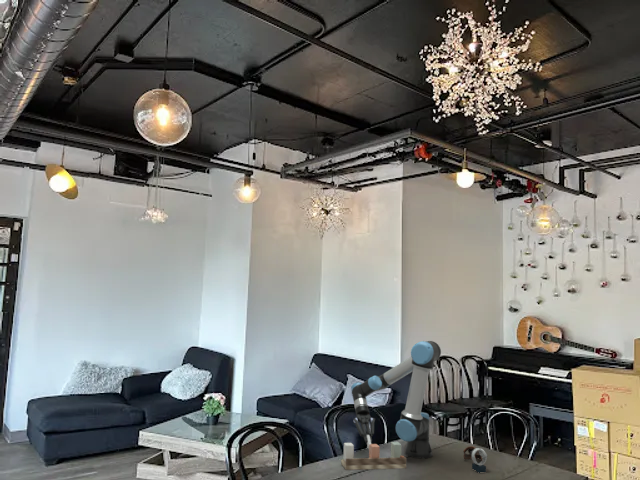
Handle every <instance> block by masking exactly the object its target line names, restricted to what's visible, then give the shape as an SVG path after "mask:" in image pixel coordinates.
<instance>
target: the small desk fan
mask: <svg viewBox="0 0 640 480" xmlns="http://www.w3.org/2000/svg"><path fill="white" fill-rule="evenodd" d="M478 450H479V451H478ZM477 451H478V452H479V454H480V455H481V457H482V461H481V460H480V462H477V459H476V458H475V453H476V452H477ZM471 457H472V459H471V460H472V462H473V463H472V464H471V470H472V469H474V470H476V471H477V472H476V471H475V472H476V473H478V472H479V473H478V474H481V473H480V472H486V473H487V466H486V465H484V464H486V462H487V458H488V454H487V452H486V451H485V450H484V449H483V448H479V447H475V449H474V450H473V452H472V456H471ZM474 470H473V471H474Z"/></svg>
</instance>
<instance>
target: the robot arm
mask: <svg viewBox="0 0 640 480" xmlns="http://www.w3.org/2000/svg"><path fill="white" fill-rule="evenodd" d="M441 354H442V351H441V347H440V344H438V343H437V342H436V341H433V340H428V341H427V340H426V341H425V340H423V341H418V342H417V343H415V344H414V345H413V346H412V347H411V350H410V357H408V358H406V359H405V360H403V361H402V362H400V363H398V364H397V365H395V366H394V367H392V368H391V369H389V370H387V371H385V372H384V373H383V374H381V375H379V376H378V375H373V376H371V377H369V378H368V379H367V380H365V381H364V382H354V383H353V384H352V385H351V388H350V390H351V396H352V399H353V405H354V409H355V415H356V417H354V418H353V420H352V422H353V424H354V425H355V427H356V430H357V432H358V434H359V436H360V437H362V438H363V439H364V442H365V443H366V445H367V449H368V450H369V444H372V441H373V438H372V437H373V436H374V434H375V421H376V418H375V417H372V416H371V415H370V411H369V410H370V409H369V405H368V401H367V397H368V396H370V395H371V394H373V393H374V392H377V391H382V390H386V389H387V388H389V387H390V386H391V385H392V384H394V383H396V382H398V381H399V380H401V379H403V378H405V377H406V376H407V375H409V374H411V373H412V374H411V378H410V384H409V387H408V394H407V398H406V402H405V403H406V404H405V408H404V409H403V410H402V411H401V413H400V417H399V418H400V419H399V420H398V421H397V422H396V424H395V433H396V434H397V436H398V437H399V439H400V440H402V441H403V442H406V445H405V448H404V454H405V455H406V456H408V457H410V458H414V459H428V458H432V457H433V450H432V446H431V443H430V415H429V413H427V412H422V408H423V403H424V398H425V394H426V389H427V384H428V379H429V375H430V374H429V373H430V372H431V370H433V369H434V364H435V362H436V361H439V359H440V357H441Z"/></svg>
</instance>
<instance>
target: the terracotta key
mask: <svg viewBox="0 0 640 480" xmlns="http://www.w3.org/2000/svg"><path fill="white" fill-rule="evenodd" d="M380 451H381V450H380V446H379V445H378V444H377V443H371V444H369V449H368V452H369V453H368V458H380Z"/></svg>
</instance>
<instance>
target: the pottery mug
mask: <svg viewBox="0 0 640 480" xmlns="http://www.w3.org/2000/svg"><path fill="white" fill-rule="evenodd" d="M475 448H476V447H475V446H471V445H470V446H467V447H465V448H464V449H463V460H464V459H465V460H472V457H471V456H472V452H473V450H474V449H475ZM478 451H479V450H478ZM478 451H477V452H476V453H475V459H476V458H479V459H478V460H480V462H481V461H482V460H483V458H482V457H481V455H480V454H479V452H478ZM466 452H468V453H466Z"/></svg>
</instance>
